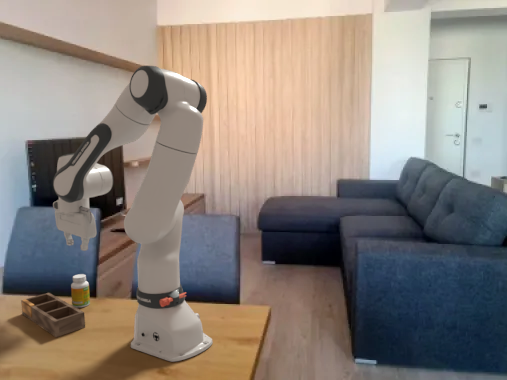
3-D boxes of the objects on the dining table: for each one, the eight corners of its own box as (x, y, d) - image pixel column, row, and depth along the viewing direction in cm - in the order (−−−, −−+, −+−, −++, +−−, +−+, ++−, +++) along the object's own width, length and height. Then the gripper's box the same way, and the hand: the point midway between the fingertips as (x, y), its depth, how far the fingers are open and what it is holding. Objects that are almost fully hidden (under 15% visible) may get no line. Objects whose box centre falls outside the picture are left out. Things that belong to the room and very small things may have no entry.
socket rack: (85, 327, 132) (84, 311, 132) (55, 337, 126) (53, 321, 125) (49, 305, 148) (48, 291, 148) (21, 314, 142) (20, 299, 141)
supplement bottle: (86, 308, 146) (84, 278, 145) (69, 308, 146) (67, 278, 145) (92, 301, 152) (90, 273, 150) (76, 301, 152) (74, 273, 150)
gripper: (100, 207, 140) (103, 251, 142) (69, 200, 153) (72, 240, 155) (80, 210, 135) (83, 255, 137) (50, 202, 149) (53, 244, 151)
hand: (77, 247), depth 146 cm, fingers open, 8 cm apart
